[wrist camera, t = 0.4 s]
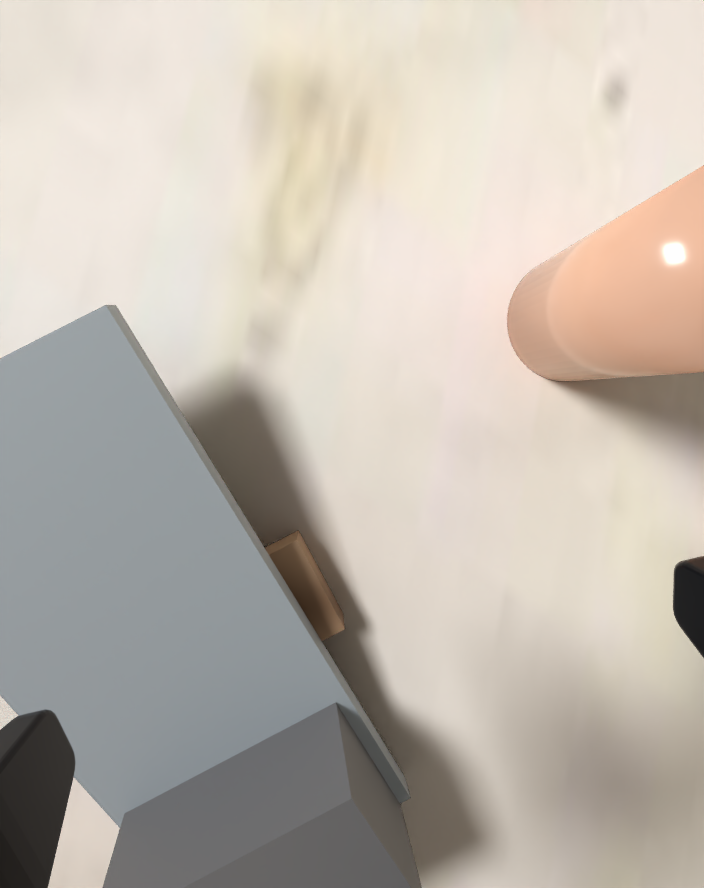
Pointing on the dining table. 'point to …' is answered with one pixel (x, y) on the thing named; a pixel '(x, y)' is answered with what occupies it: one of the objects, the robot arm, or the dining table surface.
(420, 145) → the dining table surface
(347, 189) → the dining table surface
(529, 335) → the peach bullet knob
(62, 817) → the robot arm
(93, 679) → the balance plank
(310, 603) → the walnut fulcrum
